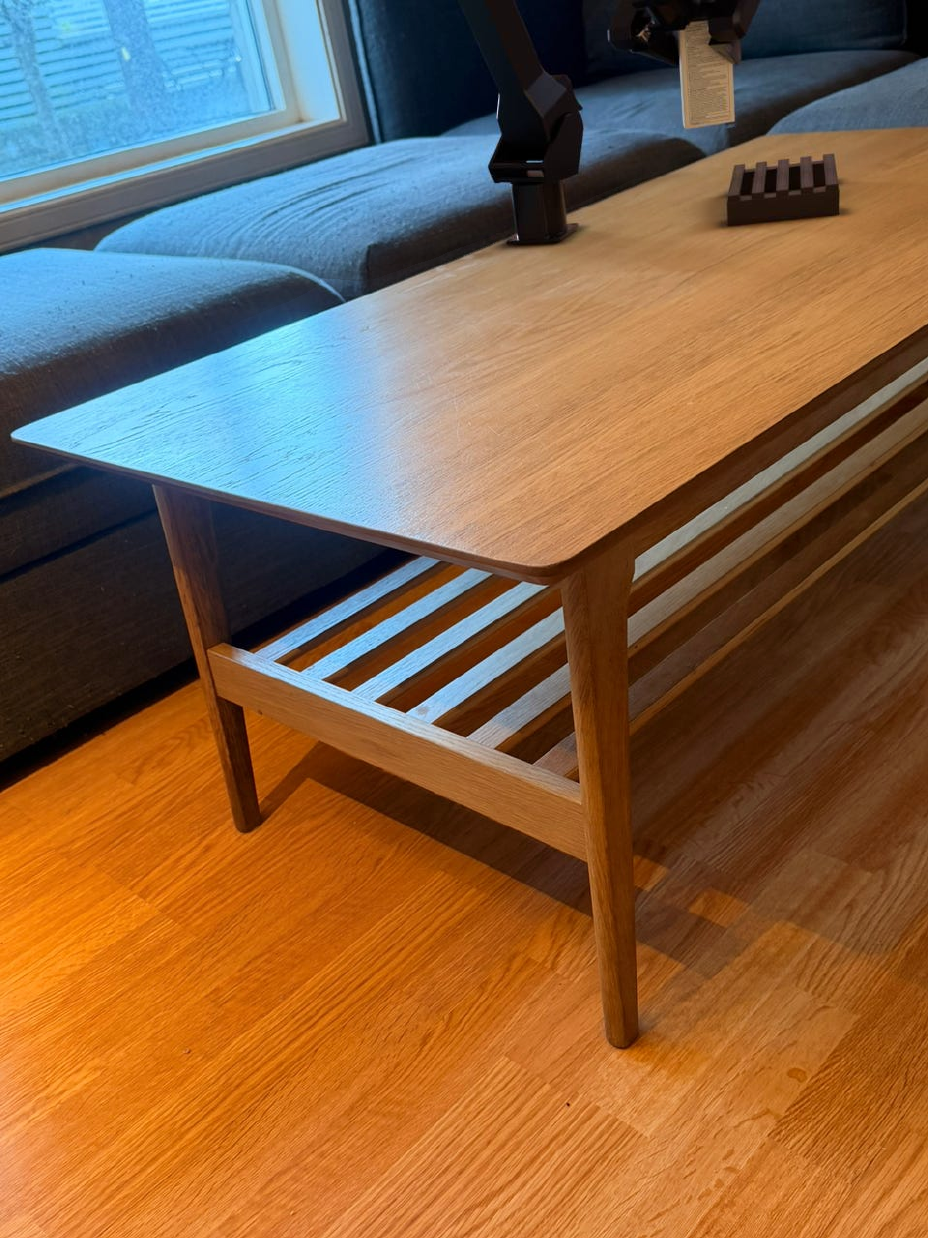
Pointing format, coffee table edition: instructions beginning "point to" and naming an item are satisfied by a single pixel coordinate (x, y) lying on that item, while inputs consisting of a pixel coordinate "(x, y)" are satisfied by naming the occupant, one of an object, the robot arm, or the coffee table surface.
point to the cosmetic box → (704, 79)
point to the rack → (783, 191)
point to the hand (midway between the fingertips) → (712, 63)
